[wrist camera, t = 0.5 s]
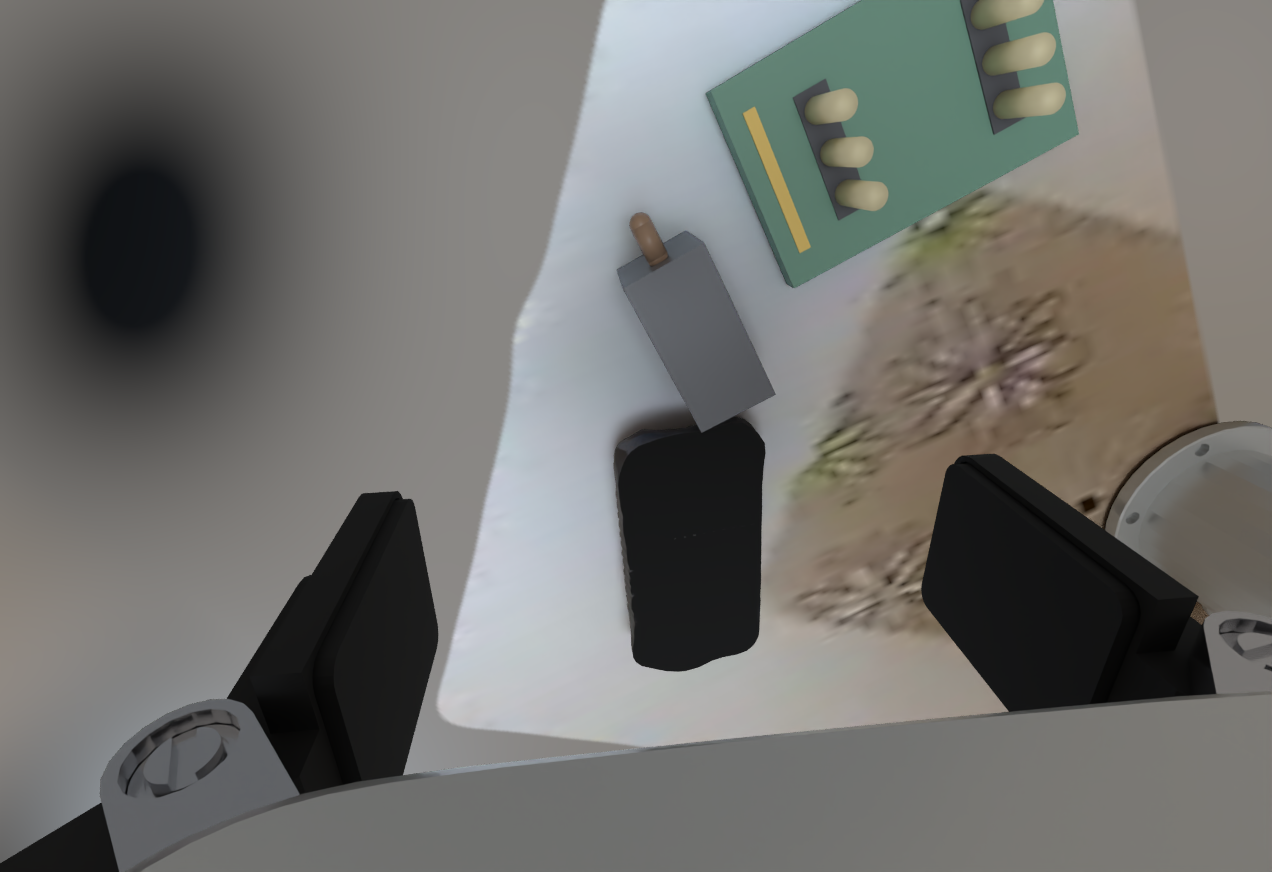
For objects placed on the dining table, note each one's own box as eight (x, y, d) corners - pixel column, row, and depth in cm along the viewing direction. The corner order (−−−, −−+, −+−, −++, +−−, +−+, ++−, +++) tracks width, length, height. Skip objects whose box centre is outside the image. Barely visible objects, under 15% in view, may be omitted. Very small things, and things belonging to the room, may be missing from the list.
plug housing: (749, 363, 34) (775, 394, 30) (685, 397, 35) (701, 432, 30) (665, 187, 30) (680, 192, 26) (594, 228, 31) (596, 240, 26)
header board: (1061, 134, 31) (1133, 131, 27) (786, 283, 33) (815, 301, 29) (1014, -91, 27) (1090, -135, 23) (705, 93, 29) (726, 83, 25)
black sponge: (608, 416, 35) (611, 443, 32) (754, 402, 36) (772, 428, 32) (628, 637, 42) (632, 679, 39) (751, 624, 43) (766, 664, 39)
